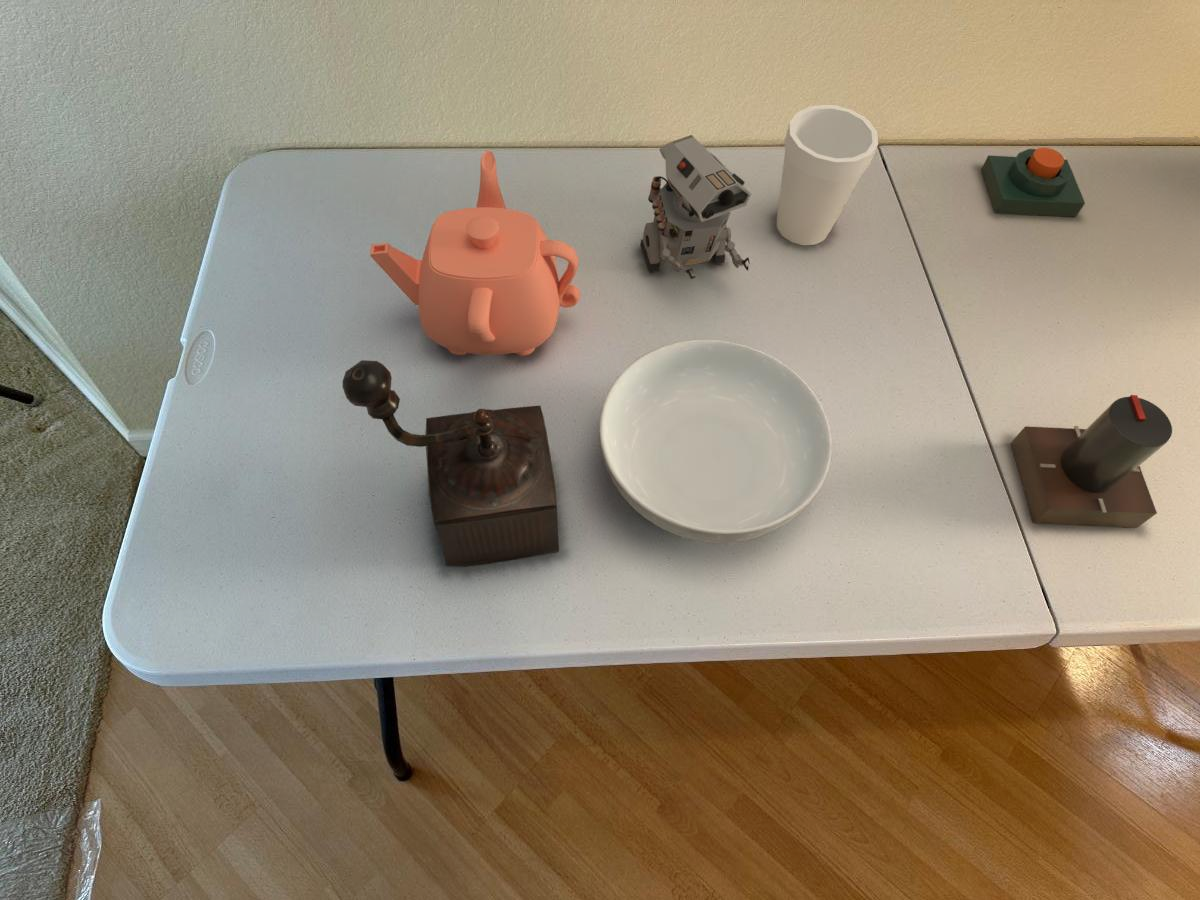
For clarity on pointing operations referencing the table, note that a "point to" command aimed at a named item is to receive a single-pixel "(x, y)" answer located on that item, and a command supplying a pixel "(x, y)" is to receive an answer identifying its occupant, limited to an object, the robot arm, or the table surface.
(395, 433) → the coffee grinder
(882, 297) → the table surface
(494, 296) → the teapot
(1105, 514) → the dial panel
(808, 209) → the foam cup
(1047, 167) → the button
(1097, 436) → the pointer knob
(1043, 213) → the button box
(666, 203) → the figurine
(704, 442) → the serving bowl
